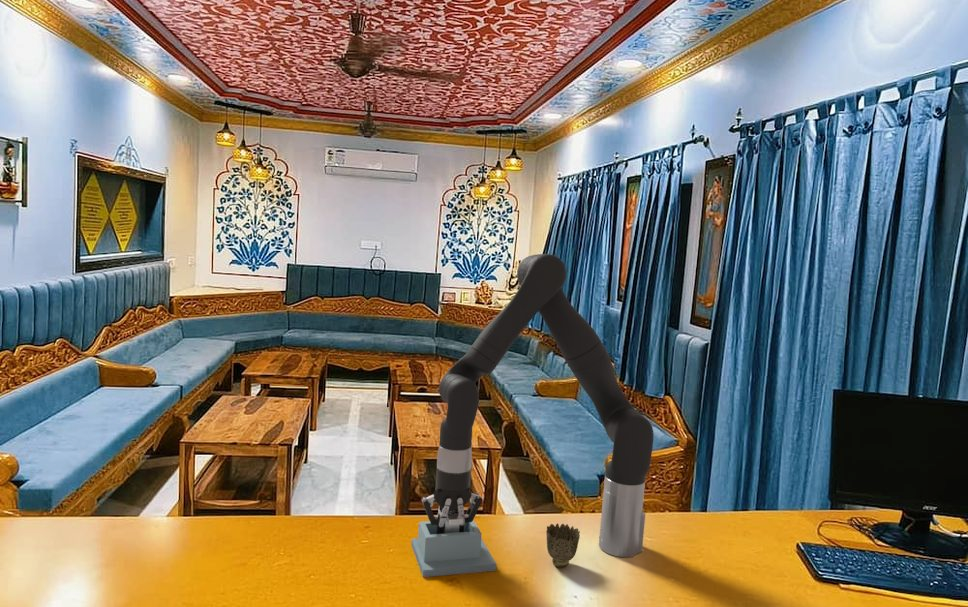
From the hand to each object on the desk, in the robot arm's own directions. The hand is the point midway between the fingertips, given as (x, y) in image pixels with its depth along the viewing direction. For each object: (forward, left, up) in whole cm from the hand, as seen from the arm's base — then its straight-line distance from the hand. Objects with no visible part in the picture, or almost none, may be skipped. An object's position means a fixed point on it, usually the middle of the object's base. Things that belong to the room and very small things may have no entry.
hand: (449, 540), depth 142 cm
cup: (-24, +7, -4) cm, 25 cm away
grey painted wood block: (0, +1, -1) cm, 2 cm away
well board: (-1, 0, -4) cm, 4 cm away
